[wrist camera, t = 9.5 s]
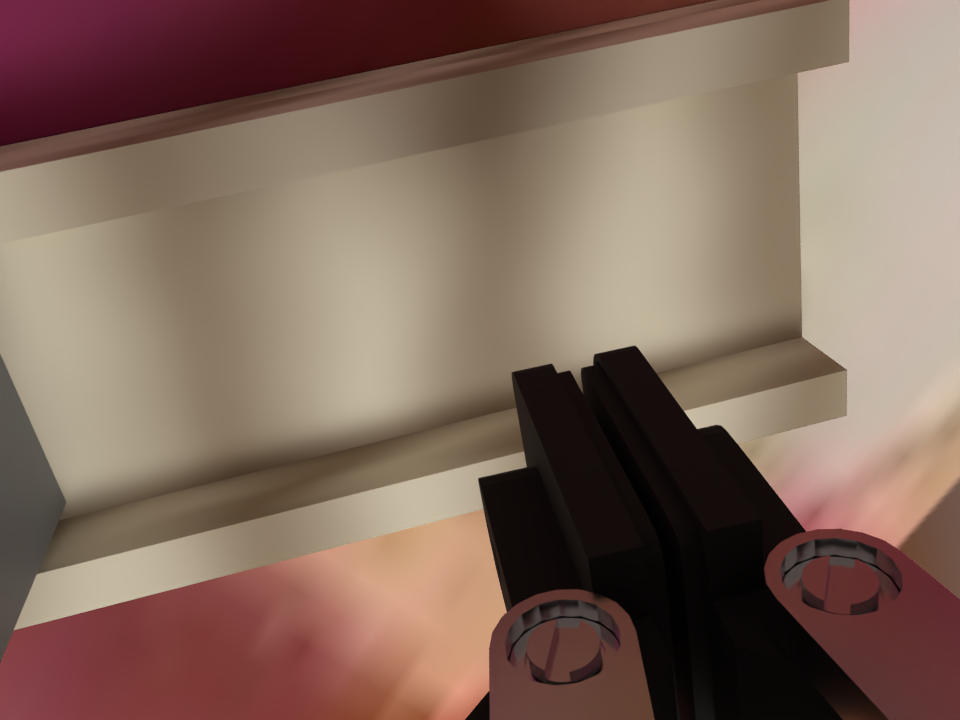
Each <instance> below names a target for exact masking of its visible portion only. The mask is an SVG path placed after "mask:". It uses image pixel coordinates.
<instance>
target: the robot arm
mask: <svg viewBox="0 0 960 720" xmlns="http://www.w3.org/2000/svg"><path fill="white" fill-rule="evenodd" d="M581 381H582V389H583V393H582V391H581V389H580V388H579V386H578V384H577V382H576V380H575V378H574V376H573V375H572V373H571V371H565V372H560V373H557V371H556V369H555V367H554V366H553V364H547V365H542V366H538V367H533V368H529V369H524V370H519V371H515V372H512V384H513V390H514V396H515V402H516V408H517V413H518V419H519V425H520V431H521V437H522V443H523V448H524V454H525V460H526V466H527V467H525V468H521V469H517V470H512V471H508V472H503V473H499V474H494V475H490V476H485V477H481V478H478V482H479V488H480V493H481V498H482V503H483V508H484V513H485V518H486V523H487V528H488V533H489V537H490V542H491V547H492V551H493V556H494V560H495V565H496V569H497V573H498V578H499V582H500V586H501V590H502V594H503V598H504V602H505V606H506V610H507V613H506V614H505V615H504V616H502V618H501V619H500V621H499V623H498V624H497V626H496V627H495V629H494V630H493V632H492V637H491V642H490V647H489V692H488V693H487V694H486V695H485V697H484V698H483V699H482V700H481V701H480V703H479V704H478V705H477V706H476V707H475V709H474V710H473V711H472V712H471V713H470V715H469V716H468V717H467V718H466V719H465V720H960V599H959V598H957V597H956V596H955V595H954V594H952V593H951V592H950V591H949V590H948V589H947V588H945V587H944V586H943V585H941V583H939V582H938V581H937V580H936V579H934V578H933V577H932V576H931V575H930V574H928V573H927V572H926V571H925V570H923V569H922V568H921V567H920V566H919V565H917V564H916V563H915V562H914V561H913V560H911V559H910V558H909V557H908V556H906V555H905V554H904V553H903V552H902V551H900V550H898V549H897V548H895V547H894V546H892V545H891V544H889V543H887V542H886V541H884V540H882V539H879V538H876V537H873V536H871V535H868V534H865V533H862V532H856V531H850V530H843V529H817V530H812V531H808V532H806V531H805V530H804V528H803V527H802V526H801V525H800V523H799V522H798V521H797V519H796V518H795V517H794V516H793V514H792V513H791V512H790V510H789V509H788V508H787V507H786V505H785V504H784V503H783V502H782V500H781V499H780V498H779V496H778V495H777V494H776V493H775V491H774V490H773V489H772V488H771V486H770V485H769V484H768V482H767V481H766V480H765V479H764V477H763V476H762V475H761V474H760V472H759V471H758V470H757V468H756V467H755V466H754V465H753V463H752V462H751V461H750V459H749V458H748V457H747V456H746V454H745V453H744V452H743V451H742V449H741V448H740V447H739V445H738V444H737V443H736V442H735V440H734V439H733V438H732V437H731V435H730V434H729V433H728V431H727V430H726V429H724V428H723V427H722V426H721V425H713V426H709V427H704V428H700V429H697V428H696V427H695V426H694V424H693V423H692V422H691V420H690V419H689V417H688V416H687V415H686V413H685V412H684V411H683V409H682V408H681V406H680V405H679V404H678V402H677V401H676V400H675V398H674V397H673V395H672V394H671V393H670V391H669V390H668V389H667V387H666V386H665V384H664V383H663V382H662V380H661V379H660V378H659V376H658V375H657V373H656V372H655V371H654V369H653V368H652V366H651V365H650V364H649V362H648V361H647V360H646V358H645V357H644V355H643V354H642V353H641V351H640V350H639V349H638V347H636V346H630V347H625V348H620V349H616V350H611V351H607V352H602V353H597V354H594V357H593V365H592V366H588V367H583V368H581Z"/></svg>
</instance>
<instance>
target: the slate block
mask: <svg viewBox="0 0 960 720" xmlns="http://www.w3.org/2000/svg"><path fill="white" fill-rule="evenodd" d="M65 505H66V500H65V498H64V496H63V494H62V491H61V489H60V487H59V485H58V482H57V480H56V478H55V476H54V473H53V471H52V469H51V467H50V464H49V462H48V460H47V458H46V455H45V453H44V451H43V449H42V447H41V444H40V442H39V440H38V438H37V435H36V433H35V431H34V429H33V426H32V424H31V422H30V420H29V417H28V415H27V413H26V411H25V408H24V406H23V404H22V402H21V399H20V397H19V395H18V393H17V390H16V388H15V386H14V384H13V381H12V379H11V377H10V375H9V372H8V370H7V368H6V366H5V363H4V361H3V359H2V357H1V354H0V662H1V660H2V657H3V655H4V652H5V650H6V648H7V645H8V643H9V640H10V638H11V635H12V633H13V631H14V628H15V626H16V623H17V621H18V619H19V616H20V614H21V611H22V609H23V606H24V604H25V602H26V599H27V597H28V594H29V592H30V589H31V587H32V585H33V582H34V580H35V577H36V575H37V573H38V570H39V568H40V565H41V563H42V560H43V558H44V556H45V553H46V551H47V548H48V546H49V544H50V541H51V539H52V536H53V534H54V531H55V529H56V527H57V524H58V522H59V519H60V517H61V515H62V512H63V510H64V507H65Z"/></svg>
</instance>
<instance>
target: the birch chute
mask: <svg viewBox="0 0 960 720" xmlns="http://www.w3.org/2000/svg"><path fill="white" fill-rule="evenodd" d="M845 62H849V0H716V1H711V2H706V3H701V4H697V5H692V6H687V7H682V8H677V9H672V10H667V11H662V12H657V13H652V14H648V15H643V16H638V17H633V18H628V19H623V20H618V21H613V22H608V23H603V24H598V25H594V26H589V27H584V28H579V29H574V30H569V31H564V32H559V33H554V34H549V35H545V36H540V37H535V38H530V39H525V40H520V41H515V42H510V43H505V44H500V45H495V46H491V47H486V48H481V49H476V50H471V51H466V52H461V53H456V54H451V55H446V56H442V57H437V58H432V59H427V60H422V61H417V62H412V63H407V64H402V65H397V66H392V67H388V68H383V69H378V70H373V71H368V72H363V73H358V74H353V75H348V76H343V77H339V78H334V79H329V80H324V81H319V82H314V83H309V84H304V85H299V86H294V87H289V88H285V89H280V90H275V91H270V92H265V93H260V94H255V95H250V96H245V97H240V98H236V99H231V100H226V101H221V102H216V103H211V104H206V105H201V106H196V107H191V108H186V109H182V110H177V111H172V112H167V113H162V114H157V115H152V116H147V117H142V118H137V119H133V120H128V121H123V122H118V123H113V124H108V125H103V126H98V127H93V128H88V129H84V130H79V131H74V132H69V133H64V134H59V135H54V136H49V137H44V138H39V139H34V140H30V141H25V142H20V143H15V144H10V145H5V146H0V354H1V357H2V359H3V361H4V363H5V366H6V368H7V370H8V372H9V375H10V377H11V379H12V381H13V384H14V386H15V388H16V390H17V393H18V395H19V397H20V399H21V402H22V404H23V406H24V408H25V411H26V413H27V415H28V417H29V420H30V422H31V424H32V426H33V429H34V431H35V433H36V435H37V438H38V440H39V442H40V444H41V447H42V449H43V451H44V453H45V455H46V458H47V460H48V462H49V464H50V467H51V469H52V471H53V473H54V476H55V478H56V480H57V482H58V485H59V487H60V489H61V491H62V494H63V496H64V498H65V500H66V505H65V507H64V510H63V512H62V515H61V517H60V519H59V522H58V524H57V527H56V529H55V531H54V534H53V536H52V539H51V541H50V544H49V546H48V548H47V551H46V553H45V556H44V558H43V560H42V563H41V565H40V568H39V570H38V573H37V575H36V577H35V580H34V582H33V585H32V587H31V589H30V592H29V594H28V597H27V599H26V602H25V604H24V606H23V609H22V611H21V614H20V616H19V619H18V621H17V623H16V626H15V628H14V630H16V629H20V628H24V627H28V626H32V625H36V624H40V623H43V622H47V621H51V620H55V619H59V618H63V617H67V616H71V615H74V614H78V613H82V612H86V611H90V610H94V609H98V608H102V607H106V606H109V605H113V604H117V603H121V602H125V601H129V600H133V599H137V598H140V597H144V596H148V595H152V594H156V593H160V592H164V591H168V590H172V589H175V588H179V587H183V586H187V585H191V584H195V583H199V582H203V581H206V580H210V579H214V578H218V577H222V576H226V575H230V574H234V573H238V572H241V571H245V570H249V569H253V568H257V567H261V566H265V565H269V564H272V563H276V562H280V561H284V560H288V559H292V558H296V557H300V556H303V555H307V554H311V553H315V552H319V551H323V550H327V549H331V548H335V547H338V546H342V545H346V544H350V543H354V542H358V541H362V540H366V539H369V538H373V537H377V536H381V535H385V534H389V533H393V532H397V531H401V530H404V529H408V528H412V527H416V526H420V525H424V524H428V523H432V522H435V521H439V520H443V519H447V518H451V517H455V516H459V515H463V514H466V513H470V512H474V511H478V510H482V509H484V508H483V503H482V498H481V493H480V488H479V482H478V478H481V477H485V476H490V475H494V474H499V473H503V472H508V471H512V470H517V469H521V468H525V467H527V466H526V460H525V454H524V448H523V443H522V437H521V431H520V425H519V419H518V413H517V408H516V402H515V396H514V390H513V384H512V372H515V371H519V370H524V369H529V368H533V367H538V366H542V365H547V364H553V366H554V367H555V369H556V371H557V373H560V372H565V371H571V373H572V375H573V376H574V378H575V380H576V382H577V384H578V386H579V388H580V389H581V391H582V393H583V389H582V381H581V368H583V367H588V366H592V365H593V357H594V354H597V353H602V352H607V351H611V350H616V349H620V348H625V347H630V346H636V347H638V349H639V350H640V351H641V353H642V354H643V355H644V357H645V358H646V360H647V361H648V362H649V364H650V365H651V366H652V368H653V369H654V371H655V372H656V373H657V375H658V376H659V378H660V379H661V380H662V382H663V383H664V384H665V386H666V387H667V389H668V390H669V391H670V393H671V394H672V395H673V397H674V398H675V400H676V401H677V402H678V404H679V405H680V406H681V408H682V409H683V411H684V412H685V413H686V415H687V416H688V417H689V419H690V420H691V422H692V423H693V424H694V426H695V427H696V428H697V429H700V428H704V427H709V426H713V425H721V426H722V427H723V428H724V429H726V430H727V431H728V433H729V434H730V435H731V437H732V438H733V439H734V440H735V442H736V443H737V444H738V443H742V442H746V441H750V440H754V439H758V438H761V437H765V436H769V435H773V434H777V433H781V432H785V431H789V430H792V429H796V428H800V427H804V426H808V425H812V424H816V423H820V422H824V421H827V420H831V419H835V418H839V417H843V416H847V370H846V369H845V368H843V367H842V366H841V365H839V364H838V363H837V362H835V361H834V360H833V359H831V358H830V357H828V356H827V355H826V354H824V353H823V352H822V351H820V350H819V349H817V348H816V347H815V346H813V345H812V344H811V343H809V342H808V341H807V340H805V339H804V338H802V312H801V254H800V197H799V139H798V81H797V73H799V72H804V71H808V70H813V69H818V68H822V67H827V66H832V65H836V64H841V63H845Z"/></svg>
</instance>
